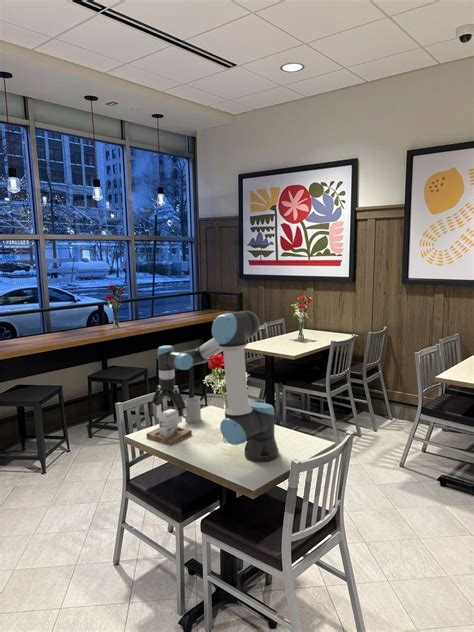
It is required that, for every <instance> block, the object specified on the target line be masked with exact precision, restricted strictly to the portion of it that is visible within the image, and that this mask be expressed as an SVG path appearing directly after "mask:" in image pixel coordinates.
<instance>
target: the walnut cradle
mask: <svg viewBox="0 0 474 632" xmlns="http://www.w3.org/2000/svg"><path fill="white" fill-rule="evenodd" d="M192 432H193V431H192V430H191V429H188V428H185V427H181V426H178V433H176V434H174V435H172V436H170V437H168V438H164V437H161V436H160V429H159V427H158V428H156V429H153V430H151V431H149V432H147V433H146V439H149V440H153V441H157V442H159V443H162V444H166V445H169V446H172V445H175V444H176V443H177V442H180V441H183V440H184V439H186V438H188V437H190V436H192V434H193V433H192Z"/></svg>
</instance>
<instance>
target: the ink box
mask: <svg viewBox="0 0 474 632" xmlns="http://www.w3.org/2000/svg"><path fill="white" fill-rule="evenodd" d="M176 410H177V409H172V408H169V409H167V410H164V411H162V412H161V413H159V418H158V422H159V423H158V426H159V427H158V428H159V429H160V436H161V437H164V438H168V437H170V436H172V435H174V434H176V433H178V427H179V423H177V412H176Z"/></svg>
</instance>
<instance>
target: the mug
mask: <svg viewBox="0 0 474 632" xmlns="http://www.w3.org/2000/svg"><path fill="white" fill-rule="evenodd" d="M184 404H185V406H186V408H184V409H182V413H183V415H182V419H184V421H185V422H186V423H190V424H192V423H198V422H201V420H202V416H201V415H202V414H201V413H202V412H201V399H200V398H198V397H191V398H190V397H188V398H186V399H185V400H184Z"/></svg>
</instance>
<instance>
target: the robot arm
mask: <svg viewBox="0 0 474 632" xmlns="http://www.w3.org/2000/svg"><path fill="white" fill-rule="evenodd" d="M260 327H261V324H260V319H259V318H258V316H257V315H256V314H255V313H254V312H253V311H249V310H240V311H235V312H226V313H223V314H220V315H218V316H217V317H216V318H215V319H214V320H213V322H212V326H211V335H212V338H211V339H209V340H207V342H205V343H203V344H202V345H200V346H198V347H197V348H193V349H190V350H189V349H188V350H184V351H175V349H174V347H173V346H172V345H162V346H159V347H158V348H157V360H158V361H157V363H158V377H159V384H158V385H156V386H155V391H154V395H153V398H152V401H151V402H152V404H154V405H155V406H154V407H155V411H156V419H159V413H161V412H163V411H162V403H161V402H162V401H163V399H164V398H165V397H167V398H169V399H170V400H172V403H173V405H175V407H176V409H175V410H176V412H177V423H178V424H180V423H182V422H183V417H182V415H183V413H182V409H184V408H186V406H185V400H184V399H183V397H182V393H181V390H180V388H175V385H176V378H175V376H176V373H175V369H179V370H184V371H187V370H189V369H190V368H192V367H193V366H197V365H201V364H205V363H209V362H210V361H209V360H208V359H209V357H210V356H212V355H215V356H216V355H218V354H220V353H221V352H222V354H223V363H224V364H223V367H224V375H225V388H226V400H227V408H226V409H225V410H224V418H223V419H222V421H221V422H220V423H219V424H220V425H219V429H220V432H221V435H222V437H223V438H224V439H225V440H226V442H227V443H229V444H230V445H233V446H238V445H241V444H245V443H246V444H245V447H244V450H243V451H244V457H245V458H246V459H248V460H249V461H253V462H257V463H265V462H266V463H267V462H271V461H274V460H276V459H277V458H279V454H280V453H279V447H278V444H277V441H276V438H275V408H274V406H273V405H272V404H270V403H265V402H261V401H260V402H259V401H258V402H257V401H256V402H250V403H249V395H248V383H247V373H246V372H247V371H246V369H247V368H246V359H245V348H246V346H248V339H250V338H252V337H254V336H256V334H258V332H259V331H260ZM184 410H185V409H184Z"/></svg>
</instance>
